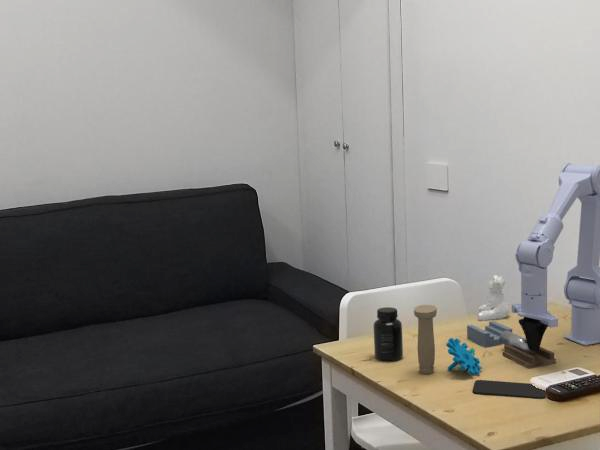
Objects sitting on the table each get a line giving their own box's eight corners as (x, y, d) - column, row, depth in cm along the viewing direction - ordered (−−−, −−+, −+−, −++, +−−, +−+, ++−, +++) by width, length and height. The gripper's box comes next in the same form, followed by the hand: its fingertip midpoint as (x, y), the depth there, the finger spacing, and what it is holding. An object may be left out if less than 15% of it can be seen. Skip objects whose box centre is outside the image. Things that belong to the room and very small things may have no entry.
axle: (499, 345, 197) (499, 331, 197) (511, 343, 199) (511, 329, 198) (524, 357, 188) (525, 342, 188) (537, 355, 190) (537, 340, 189)
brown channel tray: (529, 350, 196) (529, 340, 195) (555, 362, 187) (555, 352, 186) (502, 355, 193) (502, 345, 193) (528, 368, 184) (528, 357, 184)
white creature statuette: (479, 311, 231) (478, 270, 228) (510, 312, 228) (510, 270, 226) (477, 321, 222) (476, 278, 220) (509, 322, 219) (509, 279, 217)
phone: (545, 397, 166) (471, 391, 171) (545, 401, 166) (471, 395, 171) (546, 384, 173) (475, 379, 178) (546, 388, 173) (475, 382, 178)
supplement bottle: (408, 356, 196) (407, 308, 194) (391, 364, 191) (390, 315, 189) (385, 351, 201) (384, 304, 199) (368, 358, 196) (367, 310, 194)
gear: (472, 375, 177) (443, 339, 180) (453, 391, 179) (426, 354, 183) (491, 366, 186) (464, 332, 189) (473, 381, 188) (446, 347, 192)
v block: (493, 333, 210) (493, 320, 209) (512, 342, 202) (512, 328, 202) (467, 338, 207) (467, 325, 206) (485, 347, 200) (484, 333, 199)
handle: (413, 376, 183) (411, 312, 180) (418, 366, 189) (417, 304, 186) (434, 377, 181) (433, 313, 179) (439, 367, 187) (438, 305, 185)
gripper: (500, 288, 191) (501, 343, 193) (539, 302, 177) (539, 361, 179) (525, 284, 193) (525, 338, 195) (566, 297, 180) (565, 356, 182)
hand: (534, 349), depth 188 cm, fingers closed
